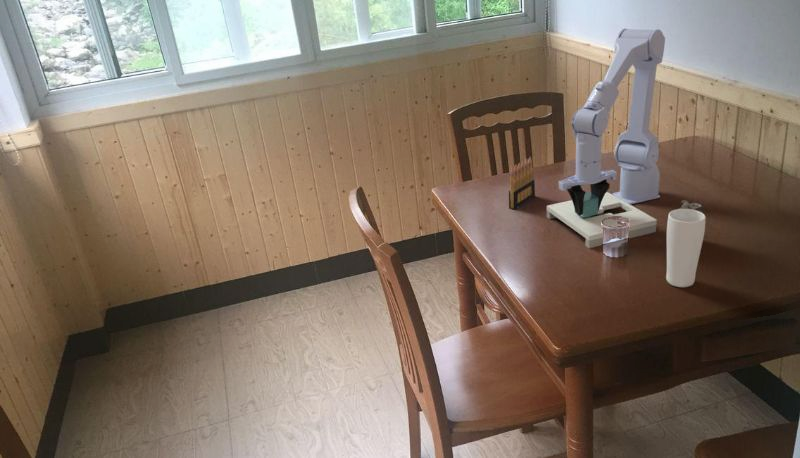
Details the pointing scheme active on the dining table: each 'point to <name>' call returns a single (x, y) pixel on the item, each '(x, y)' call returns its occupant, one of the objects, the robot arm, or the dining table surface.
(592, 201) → the peg
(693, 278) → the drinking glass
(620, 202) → the keyhole plate
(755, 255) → the dining table surface
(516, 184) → the ammunition clip
